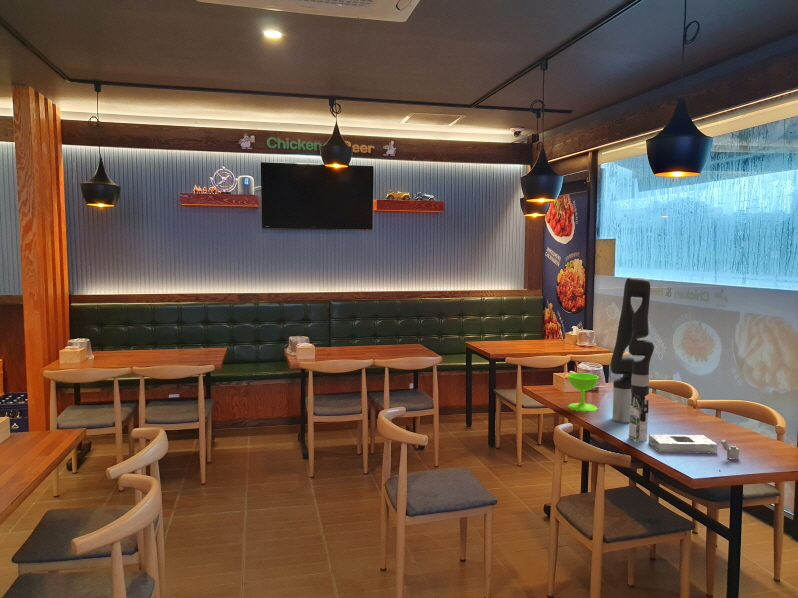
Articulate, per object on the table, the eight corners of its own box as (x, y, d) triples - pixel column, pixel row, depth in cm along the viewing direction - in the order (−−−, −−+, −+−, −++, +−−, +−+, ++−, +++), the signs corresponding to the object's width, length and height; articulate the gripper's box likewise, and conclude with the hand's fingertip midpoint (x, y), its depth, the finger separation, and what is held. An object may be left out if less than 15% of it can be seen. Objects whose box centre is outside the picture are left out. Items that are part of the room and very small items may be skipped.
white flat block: (648, 443, 255) (649, 434, 255) (703, 444, 254) (703, 435, 254) (659, 452, 243) (659, 443, 243) (716, 453, 242) (717, 444, 242)
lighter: (736, 457, 237) (737, 439, 237) (738, 459, 236) (739, 440, 235) (719, 458, 237) (720, 439, 236) (722, 459, 235) (723, 440, 235)
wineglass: (601, 412, 305) (602, 379, 303) (571, 412, 305) (572, 379, 304) (592, 404, 321) (593, 373, 319) (563, 404, 321) (564, 373, 320)
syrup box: (628, 438, 262) (629, 407, 261) (638, 436, 264) (639, 406, 263) (637, 442, 257) (638, 410, 256) (647, 440, 259) (648, 409, 258)
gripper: (626, 380, 266) (625, 414, 267) (637, 387, 251) (636, 423, 252) (642, 380, 265) (641, 414, 266) (654, 387, 251) (653, 423, 252)
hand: (639, 418), depth 259 cm, fingers open, 8 cm apart
